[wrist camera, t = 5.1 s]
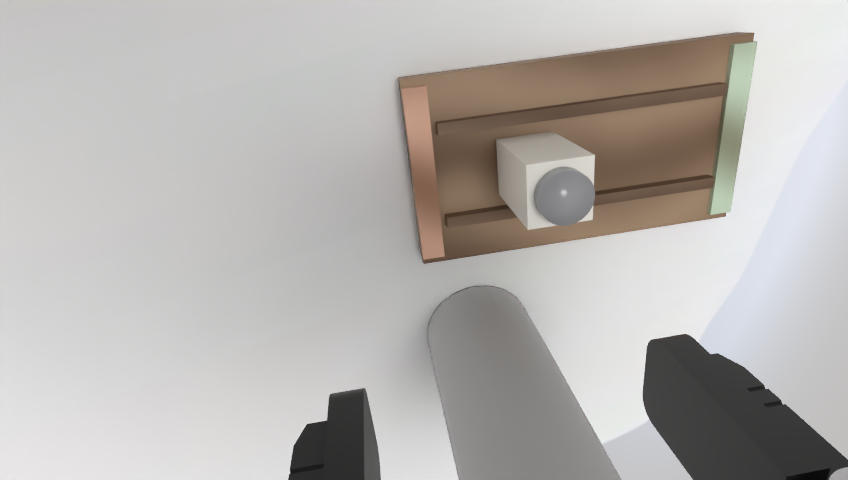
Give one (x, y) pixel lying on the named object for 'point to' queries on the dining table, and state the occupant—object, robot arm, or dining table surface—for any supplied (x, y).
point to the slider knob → (546, 179)
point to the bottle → (508, 395)
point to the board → (580, 139)
